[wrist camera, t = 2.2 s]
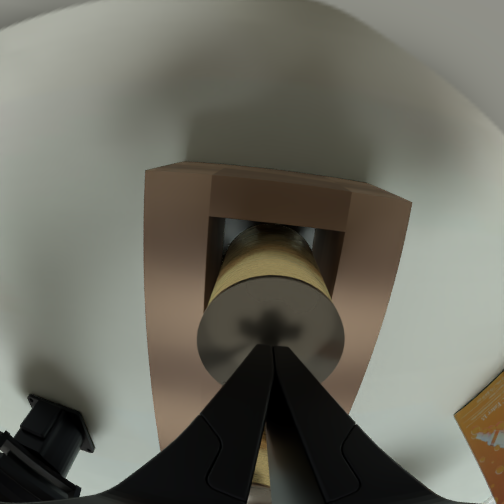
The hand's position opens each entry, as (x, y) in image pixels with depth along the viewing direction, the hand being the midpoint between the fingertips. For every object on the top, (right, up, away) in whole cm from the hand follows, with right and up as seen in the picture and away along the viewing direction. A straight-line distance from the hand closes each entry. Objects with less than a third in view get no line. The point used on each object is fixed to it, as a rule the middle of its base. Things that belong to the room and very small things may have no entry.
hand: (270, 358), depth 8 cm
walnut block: (0, -1, +12) cm, 12 cm away
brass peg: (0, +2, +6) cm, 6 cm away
